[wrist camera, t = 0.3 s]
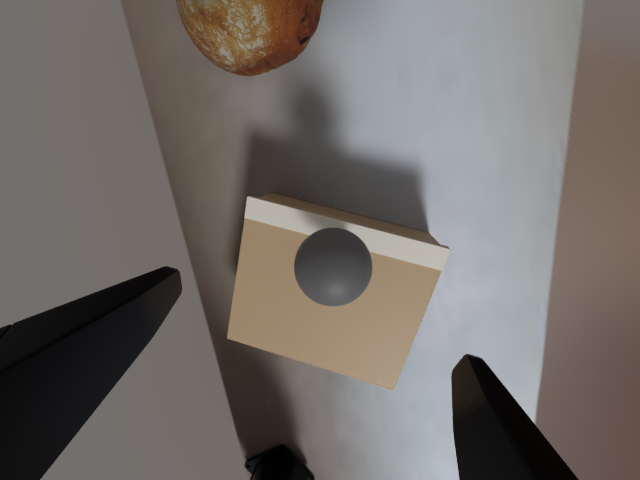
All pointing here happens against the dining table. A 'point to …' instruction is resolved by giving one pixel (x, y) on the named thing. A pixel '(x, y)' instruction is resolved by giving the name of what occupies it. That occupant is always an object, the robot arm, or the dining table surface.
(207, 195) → the dining table surface
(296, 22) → the bread roll
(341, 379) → the dining table surface
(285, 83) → the dining table surface
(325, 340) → the lid
